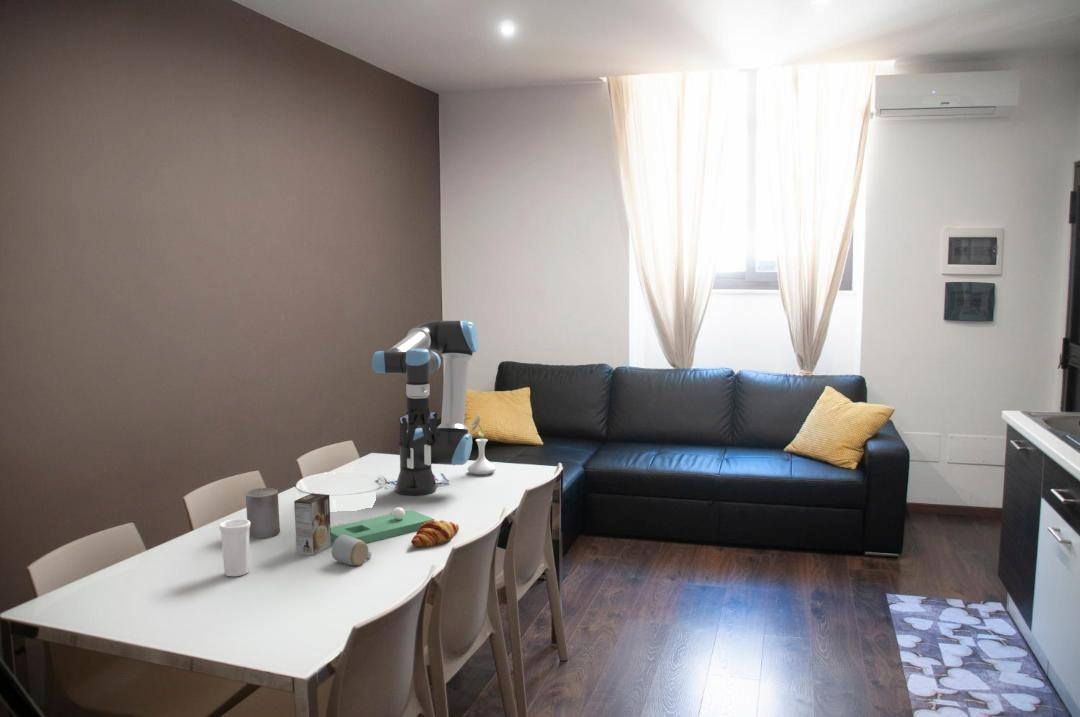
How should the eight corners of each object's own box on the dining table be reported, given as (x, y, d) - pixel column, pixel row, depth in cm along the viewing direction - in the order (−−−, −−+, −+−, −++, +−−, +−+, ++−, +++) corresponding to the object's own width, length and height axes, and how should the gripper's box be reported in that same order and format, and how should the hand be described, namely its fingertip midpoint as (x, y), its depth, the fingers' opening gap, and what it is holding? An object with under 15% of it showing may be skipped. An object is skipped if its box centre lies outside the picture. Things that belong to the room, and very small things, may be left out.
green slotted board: (410, 516, 288) (410, 509, 288) (434, 526, 277) (434, 519, 277) (323, 536, 267) (323, 529, 266) (346, 548, 256) (345, 540, 256)
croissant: (450, 540, 274) (441, 517, 276) (473, 531, 269) (463, 507, 271) (406, 558, 257) (397, 533, 258) (429, 548, 251) (419, 523, 253)
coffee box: (313, 543, 260) (312, 492, 258) (331, 546, 258) (330, 494, 256) (295, 553, 252) (293, 500, 250) (313, 556, 249) (312, 502, 248)
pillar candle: (267, 527, 276) (264, 482, 274) (286, 532, 270) (284, 486, 269) (241, 535, 268) (238, 489, 266) (260, 541, 263) (258, 493, 261)
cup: (222, 580, 230) (220, 529, 228) (220, 570, 237) (218, 520, 236) (253, 576, 233) (251, 525, 232) (251, 566, 241) (249, 517, 239)
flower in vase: (471, 469, 354) (470, 409, 351) (498, 470, 352) (497, 410, 349) (463, 477, 341) (463, 415, 338) (491, 478, 339) (491, 416, 336)
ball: (400, 517, 279) (400, 505, 279) (407, 519, 276) (407, 507, 276) (390, 519, 277) (390, 507, 276) (397, 522, 274) (396, 510, 273)
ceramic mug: (352, 569, 238) (351, 543, 238) (331, 564, 243) (330, 538, 242) (378, 559, 247) (378, 533, 246) (357, 554, 252) (357, 528, 251)
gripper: (399, 401, 268) (400, 473, 271) (448, 394, 281) (449, 463, 283) (386, 398, 274) (387, 468, 276) (435, 392, 286) (436, 459, 289)
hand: (419, 466), depth 280 cm, fingers open, 6 cm apart
